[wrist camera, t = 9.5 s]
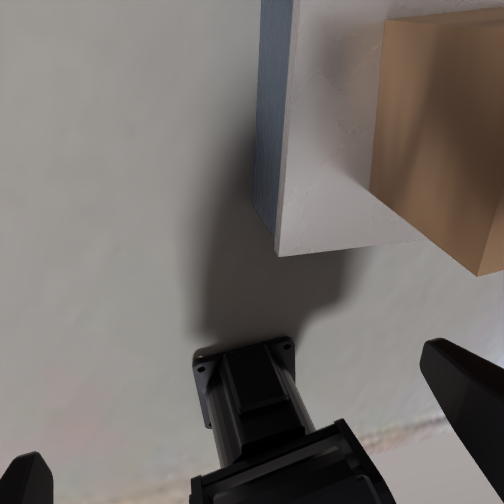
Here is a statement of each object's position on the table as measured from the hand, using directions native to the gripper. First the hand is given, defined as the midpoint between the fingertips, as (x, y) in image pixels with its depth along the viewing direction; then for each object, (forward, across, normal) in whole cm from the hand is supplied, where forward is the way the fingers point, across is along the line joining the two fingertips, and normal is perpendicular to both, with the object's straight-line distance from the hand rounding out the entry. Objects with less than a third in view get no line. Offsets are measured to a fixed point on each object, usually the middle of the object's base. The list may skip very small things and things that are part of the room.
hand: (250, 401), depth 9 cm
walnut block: (+7, -10, -4) cm, 13 cm away
